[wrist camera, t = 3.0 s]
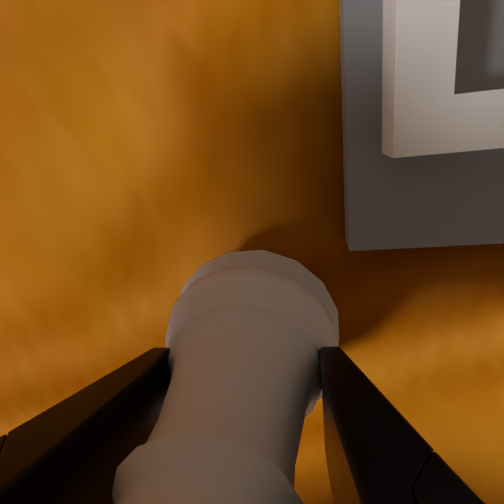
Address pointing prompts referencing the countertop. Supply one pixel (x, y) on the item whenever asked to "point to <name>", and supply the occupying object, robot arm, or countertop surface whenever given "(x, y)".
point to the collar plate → (422, 122)
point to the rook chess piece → (235, 385)
